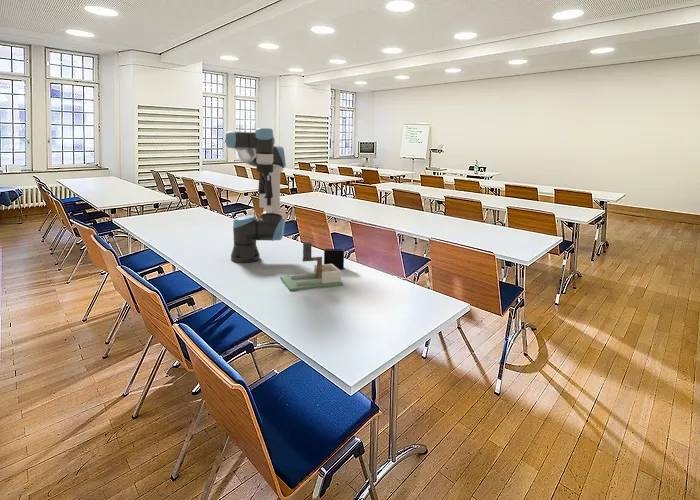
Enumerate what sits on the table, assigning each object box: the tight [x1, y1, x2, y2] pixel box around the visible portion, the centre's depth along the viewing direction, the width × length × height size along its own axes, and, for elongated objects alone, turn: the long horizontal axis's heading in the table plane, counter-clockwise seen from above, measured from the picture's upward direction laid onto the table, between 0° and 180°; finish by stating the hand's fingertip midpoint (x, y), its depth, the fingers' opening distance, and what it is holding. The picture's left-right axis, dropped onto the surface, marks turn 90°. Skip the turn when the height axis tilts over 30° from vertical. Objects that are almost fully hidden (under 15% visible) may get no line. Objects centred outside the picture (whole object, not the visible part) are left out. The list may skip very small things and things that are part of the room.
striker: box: [301, 241, 323, 279], centre depth 202 cm, size 6×9×18 cm, turn 113°
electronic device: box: [323, 248, 345, 271], centre depth 225 cm, size 4×10×10 cm, turn 95°
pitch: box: [279, 263, 344, 292], centre depth 204 cm, size 18×25×6 cm
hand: (265, 210), depth 204 cm, fingers open, 13 cm apart
